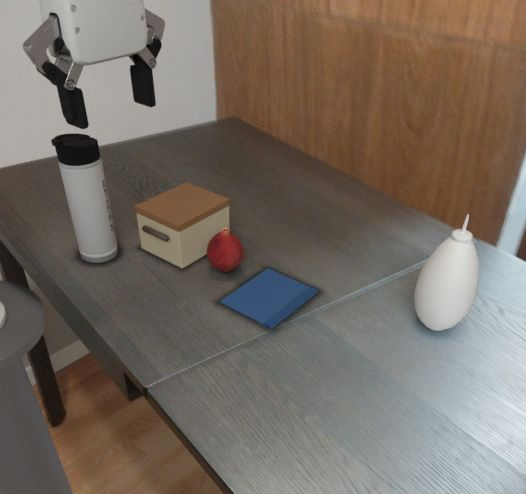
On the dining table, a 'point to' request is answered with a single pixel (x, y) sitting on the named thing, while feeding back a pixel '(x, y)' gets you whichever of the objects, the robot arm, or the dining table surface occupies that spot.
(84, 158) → the travel mug
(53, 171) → the dining table surface
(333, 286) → the dining table surface
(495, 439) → the dining table surface
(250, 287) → the cloth
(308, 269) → the dining table surface
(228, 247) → the red pomegranate
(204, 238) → the bin
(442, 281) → the white air blower bulb
